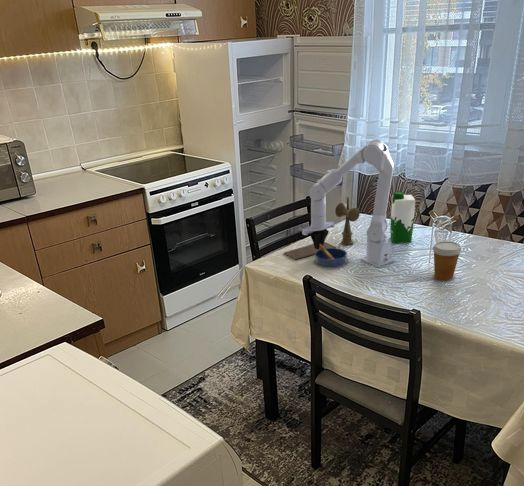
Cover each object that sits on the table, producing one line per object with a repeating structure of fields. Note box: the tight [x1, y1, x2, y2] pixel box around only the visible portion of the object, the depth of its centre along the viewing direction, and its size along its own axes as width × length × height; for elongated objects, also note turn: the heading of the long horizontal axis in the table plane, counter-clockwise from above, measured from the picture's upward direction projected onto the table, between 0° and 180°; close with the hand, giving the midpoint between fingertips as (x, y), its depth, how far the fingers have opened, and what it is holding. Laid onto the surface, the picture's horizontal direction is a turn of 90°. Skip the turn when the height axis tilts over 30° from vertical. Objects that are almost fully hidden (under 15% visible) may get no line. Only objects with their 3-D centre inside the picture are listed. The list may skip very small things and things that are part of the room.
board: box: [283, 241, 337, 261], centre depth 222 cm, size 20×9×1 cm, turn 122°
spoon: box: [319, 242, 334, 259], centre depth 212 cm, size 14×4×6 cm, turn 32°
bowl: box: [314, 247, 348, 268], centre depth 211 cm, size 12×12×4 cm
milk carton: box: [389, 190, 416, 244], centre depth 222 cm, size 9×9×20 cm
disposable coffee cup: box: [432, 240, 462, 282], centre depth 191 cm, size 10×10×12 cm
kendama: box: [334, 196, 361, 246], centre depth 222 cm, size 6×10×20 cm, turn 30°
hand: (318, 248), depth 216 cm, fingers closed on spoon
